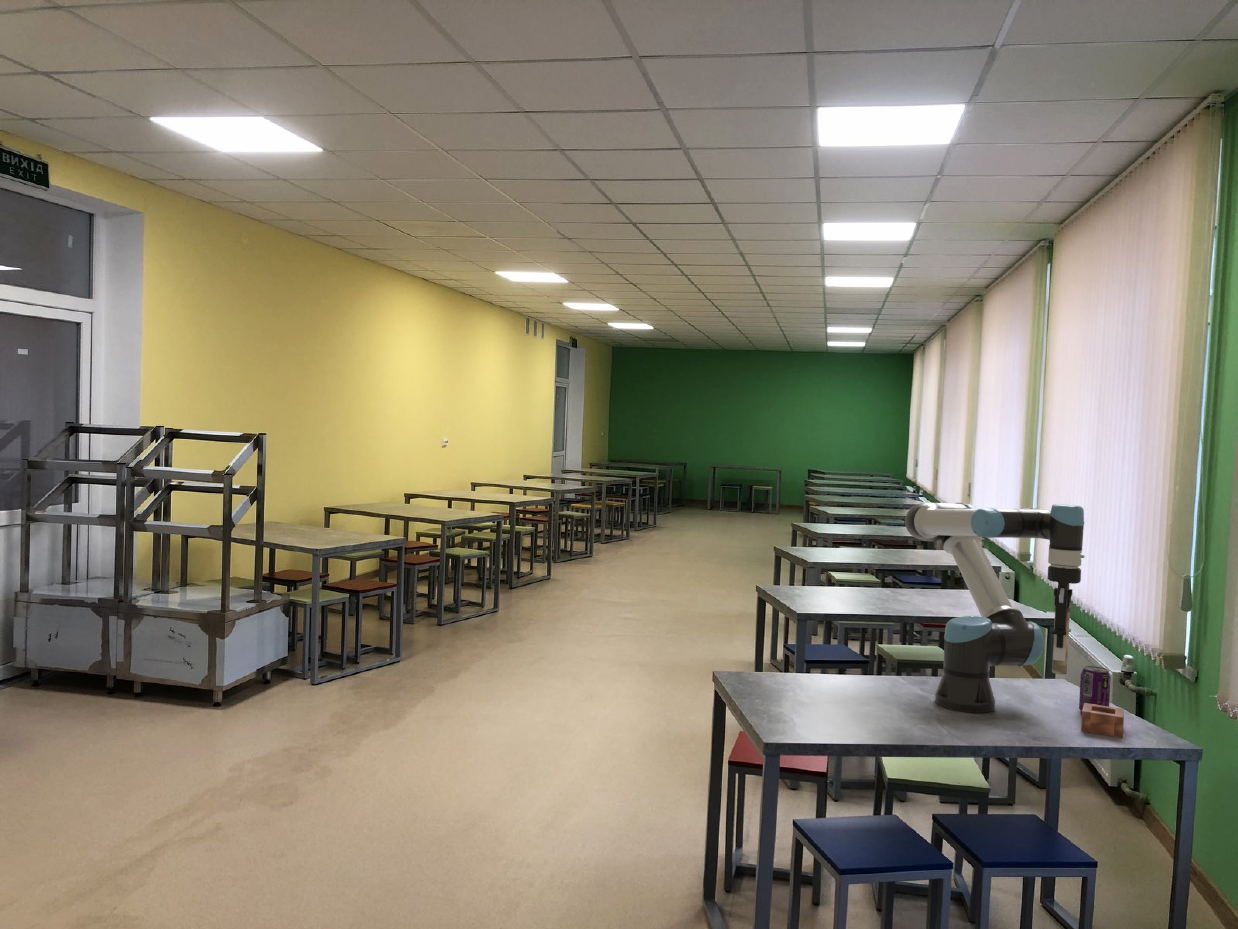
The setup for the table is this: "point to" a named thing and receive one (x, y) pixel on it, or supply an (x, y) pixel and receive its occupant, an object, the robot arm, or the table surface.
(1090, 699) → the beverage can
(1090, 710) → the brown hollow square block
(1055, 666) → the wooden dowel rod
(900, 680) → the table surface
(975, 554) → the robot arm
